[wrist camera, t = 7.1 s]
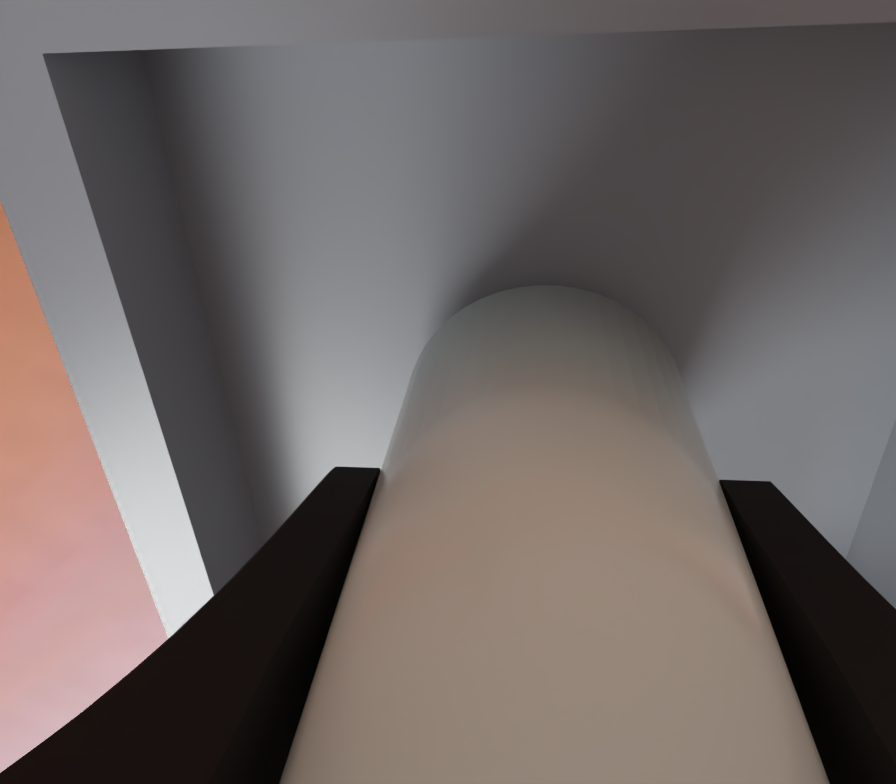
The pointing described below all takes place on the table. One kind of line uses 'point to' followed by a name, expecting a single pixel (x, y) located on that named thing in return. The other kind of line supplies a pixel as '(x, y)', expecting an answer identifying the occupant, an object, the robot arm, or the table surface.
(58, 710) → the table surface
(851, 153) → the tray
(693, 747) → the cup
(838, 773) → the robot arm
